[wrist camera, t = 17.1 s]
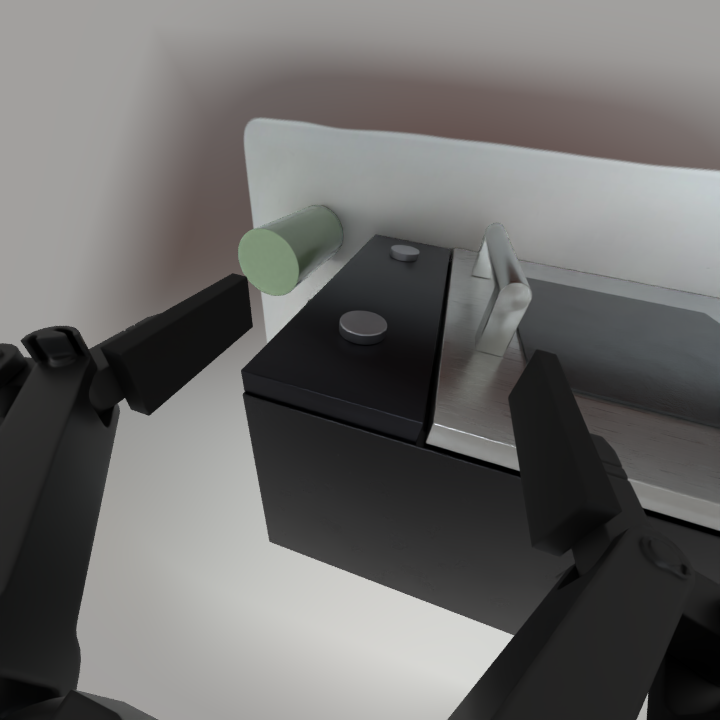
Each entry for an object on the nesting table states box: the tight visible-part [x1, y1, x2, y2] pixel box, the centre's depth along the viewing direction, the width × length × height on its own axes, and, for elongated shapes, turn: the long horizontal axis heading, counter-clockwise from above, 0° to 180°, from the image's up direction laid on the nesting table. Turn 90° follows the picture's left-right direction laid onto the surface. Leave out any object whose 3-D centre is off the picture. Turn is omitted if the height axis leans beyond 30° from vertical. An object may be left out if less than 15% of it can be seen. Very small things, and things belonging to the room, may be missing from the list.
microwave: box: [241, 235, 720, 635], centre depth 31 cm, size 22×40×31 cm, turn 84°
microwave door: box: [426, 223, 720, 531], centre depth 23 cm, size 6×30×31 cm, turn 84°
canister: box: [238, 205, 343, 296], centre depth 37 cm, size 7×7×14 cm
